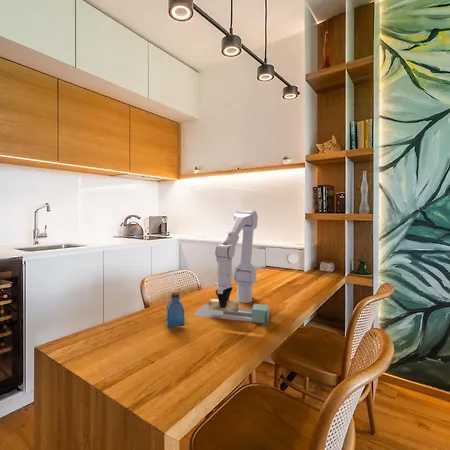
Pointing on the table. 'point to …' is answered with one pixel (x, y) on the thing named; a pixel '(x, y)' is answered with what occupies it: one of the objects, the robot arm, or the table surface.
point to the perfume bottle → (175, 311)
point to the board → (238, 314)
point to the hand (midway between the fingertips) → (224, 306)
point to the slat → (230, 306)
